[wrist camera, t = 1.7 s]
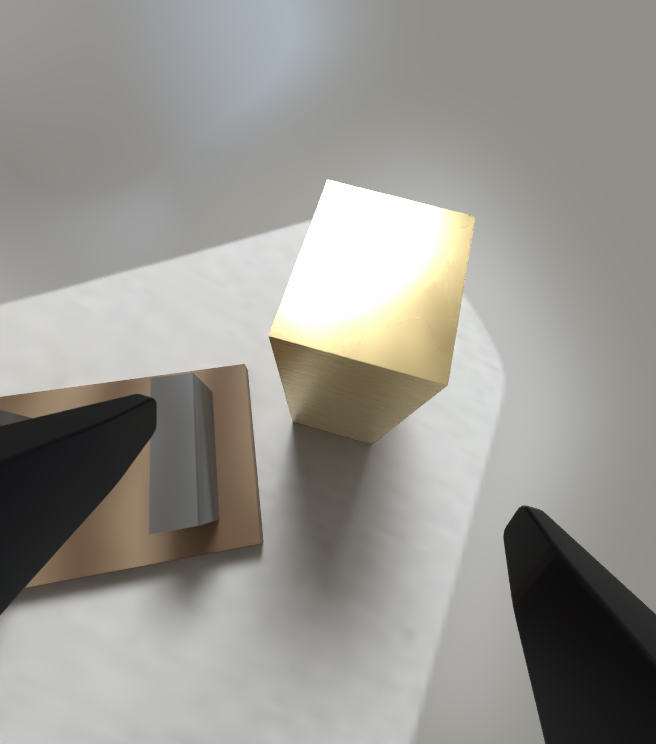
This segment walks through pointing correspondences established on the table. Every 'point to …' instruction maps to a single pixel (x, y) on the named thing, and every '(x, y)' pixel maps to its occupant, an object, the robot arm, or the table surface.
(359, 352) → the brass block
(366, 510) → the table surface
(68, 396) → the vise
